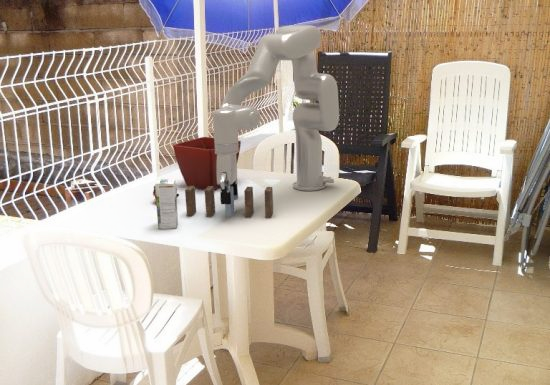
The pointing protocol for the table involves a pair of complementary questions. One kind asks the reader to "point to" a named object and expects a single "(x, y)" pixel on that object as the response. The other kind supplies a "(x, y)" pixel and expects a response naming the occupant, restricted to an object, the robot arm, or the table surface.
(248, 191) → the domino
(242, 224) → the table surface
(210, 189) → the domino
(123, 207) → the table surface
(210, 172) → the plant pot
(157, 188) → the syrup box
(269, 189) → the domino
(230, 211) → the domino
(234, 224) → the table surface
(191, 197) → the domino
